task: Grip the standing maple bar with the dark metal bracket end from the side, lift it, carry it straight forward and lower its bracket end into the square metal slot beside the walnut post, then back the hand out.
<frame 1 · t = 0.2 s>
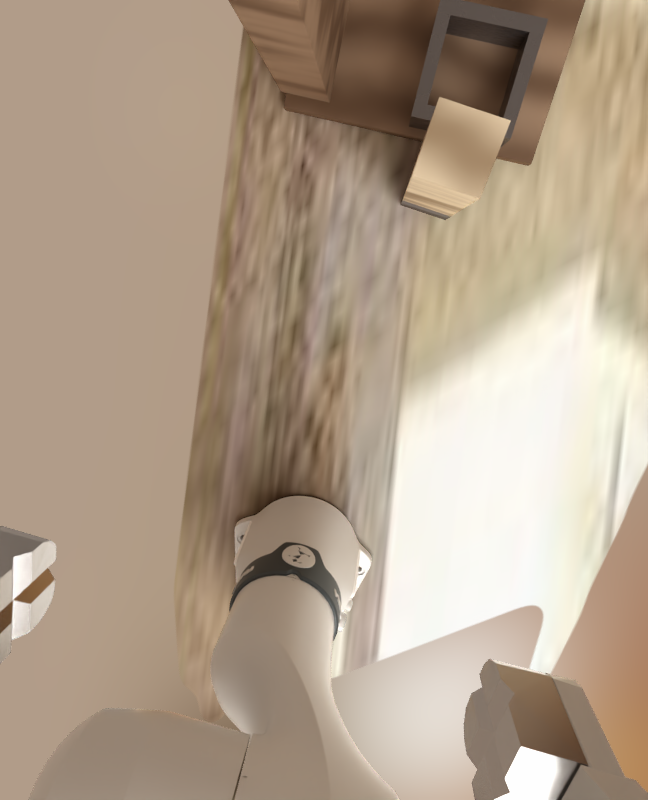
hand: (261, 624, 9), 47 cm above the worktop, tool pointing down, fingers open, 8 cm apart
headboard post: (467, 87, 46), on the worktop
rail bar: (431, 187, 49), on the worktop
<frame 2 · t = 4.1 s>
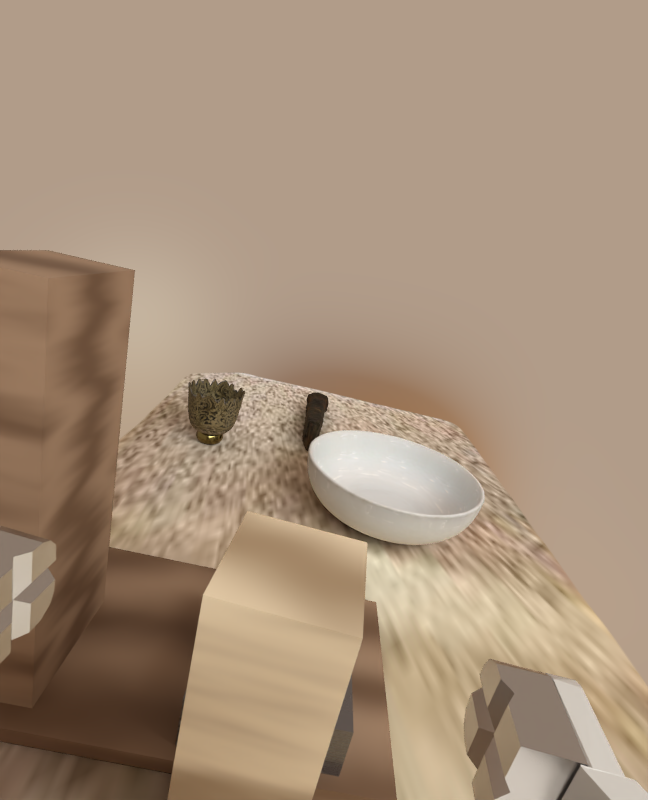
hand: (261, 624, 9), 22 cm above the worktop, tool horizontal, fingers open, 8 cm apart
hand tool: (314, 431, 79), on the worktop
serving bowl: (380, 516, 57), on the worktop
headboard post: (266, 697, 31), on the worktop
cup: (208, 441, 65), on the worktop
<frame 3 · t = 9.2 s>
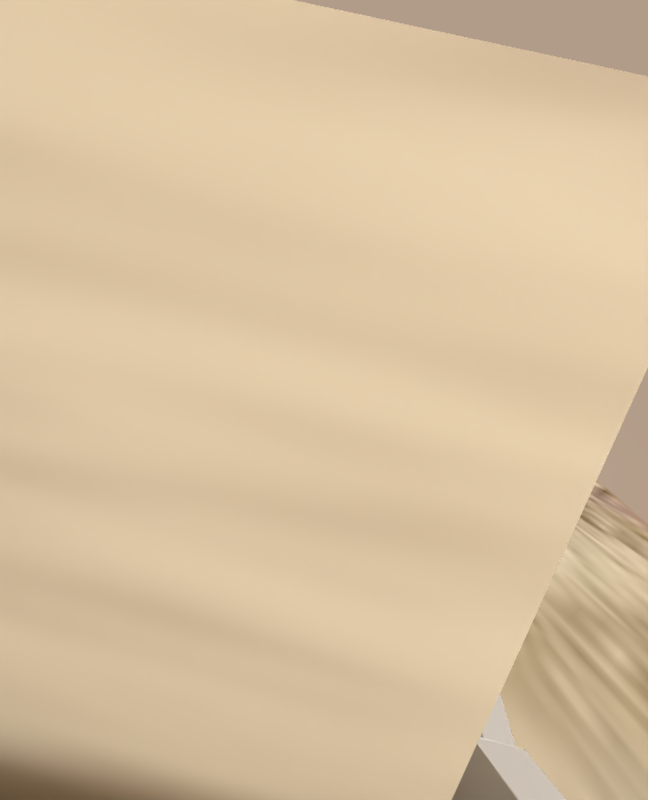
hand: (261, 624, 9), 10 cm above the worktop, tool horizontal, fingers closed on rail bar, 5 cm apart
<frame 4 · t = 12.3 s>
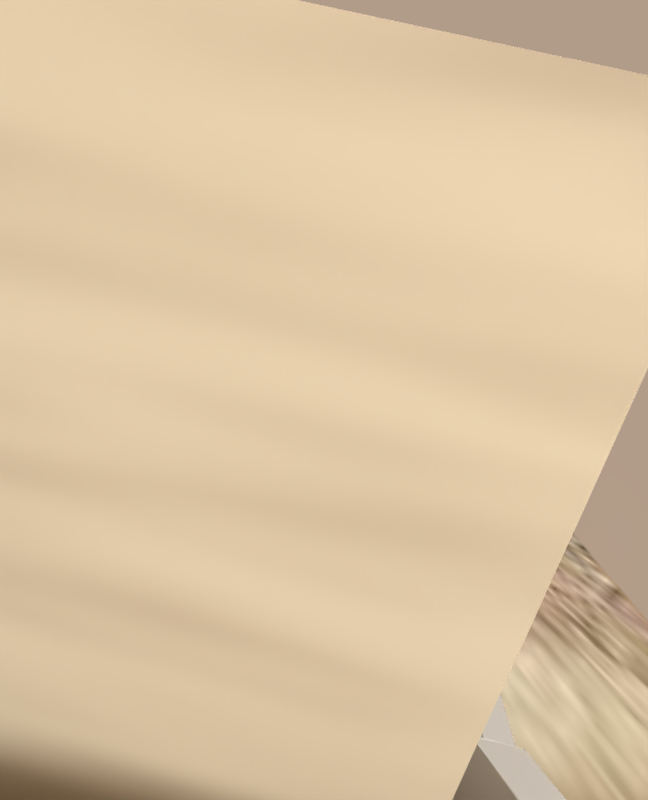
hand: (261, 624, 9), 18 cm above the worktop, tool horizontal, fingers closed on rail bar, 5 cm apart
when the fingers open (12 cm above the worktop, at t = 15.3 s): rail bar drops 1 cm, resting on headboard post.
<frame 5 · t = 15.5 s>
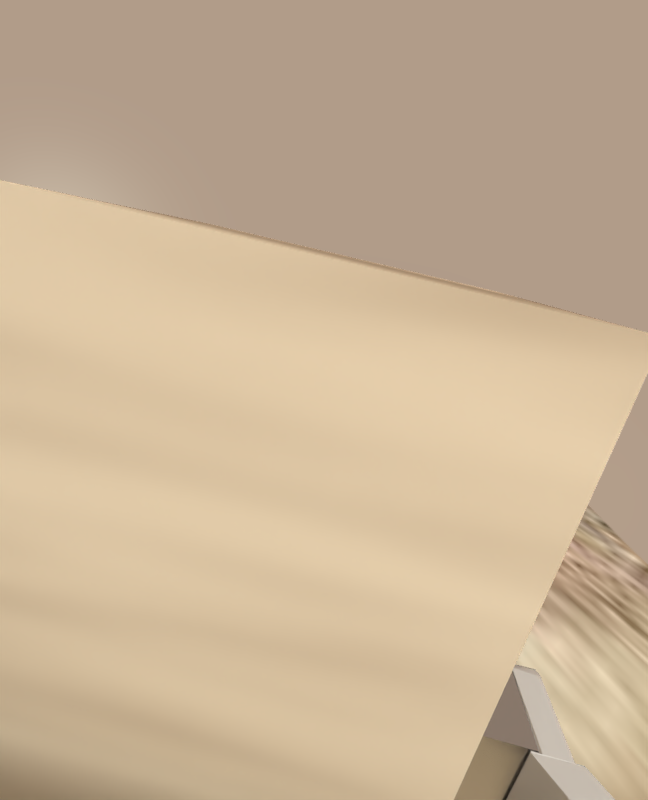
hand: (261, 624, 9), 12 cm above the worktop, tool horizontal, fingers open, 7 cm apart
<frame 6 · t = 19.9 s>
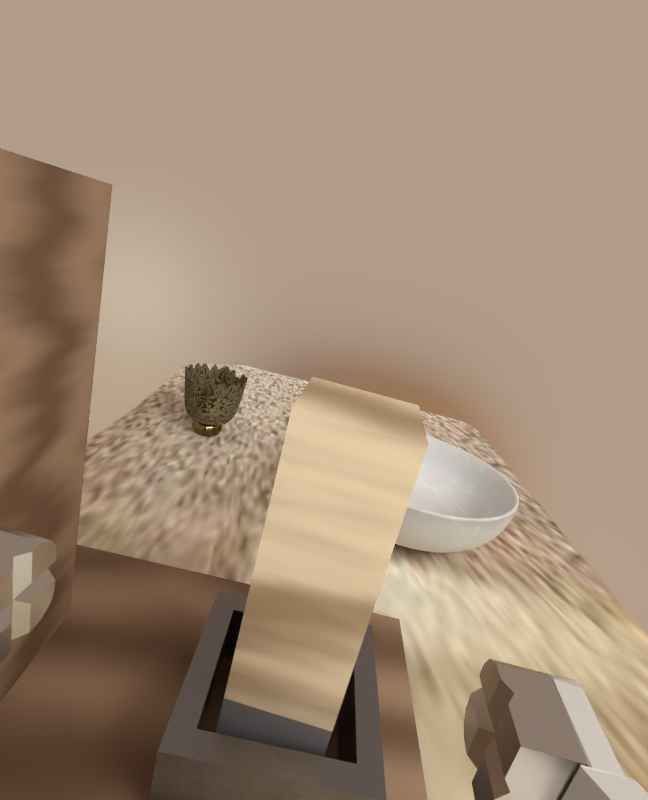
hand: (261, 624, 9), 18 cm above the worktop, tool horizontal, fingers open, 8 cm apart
serving bowl: (397, 519, 50), on the worktop
headboard post: (268, 740, 24), on the worktop
cup: (206, 433, 59), on the worktop
rail bar: (272, 727, 24), point 1 cm above the worktop, touching headboard post
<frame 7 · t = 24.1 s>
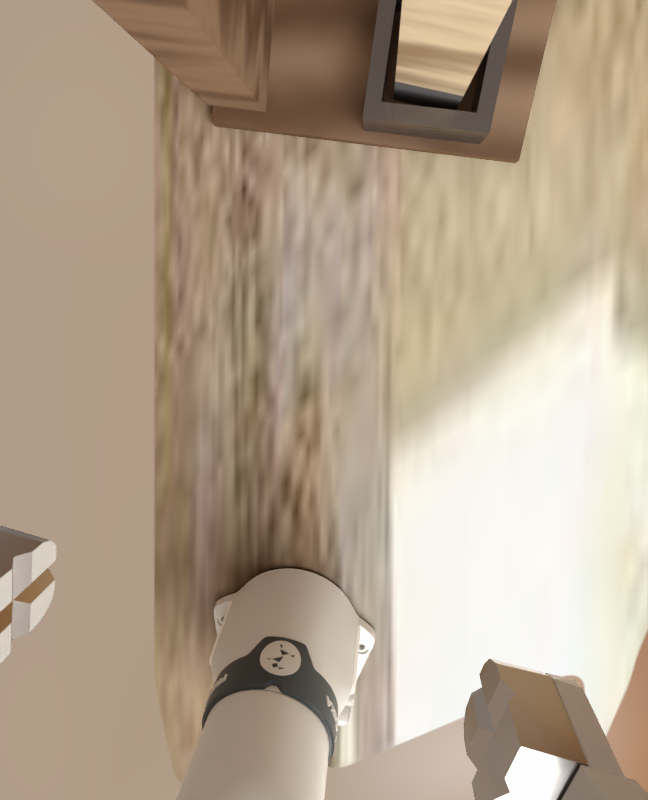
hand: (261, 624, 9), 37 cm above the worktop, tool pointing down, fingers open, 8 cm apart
headboard post: (431, 75, 37), on the worktop
rail bar: (433, 70, 36), point 1 cm above the worktop, touching headboard post
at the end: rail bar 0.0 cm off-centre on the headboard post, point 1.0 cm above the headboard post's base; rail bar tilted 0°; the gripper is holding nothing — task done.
